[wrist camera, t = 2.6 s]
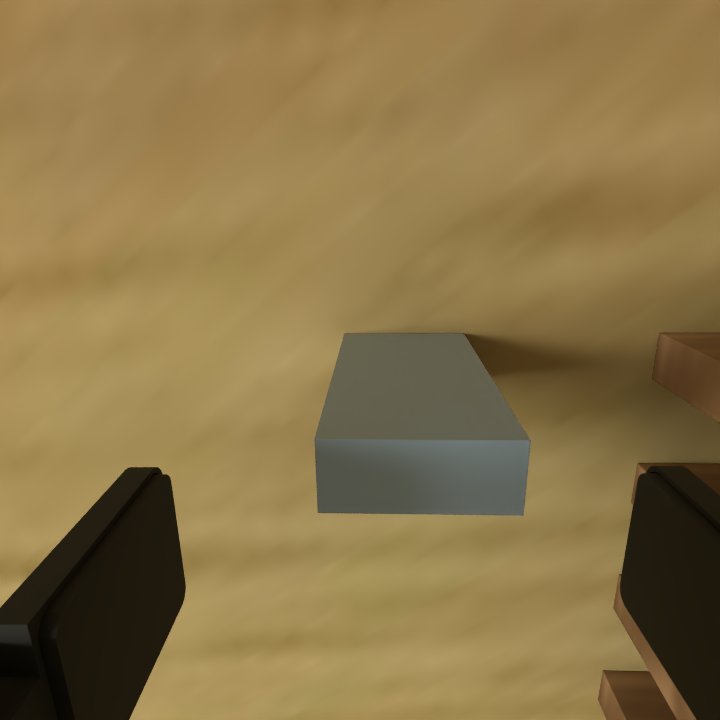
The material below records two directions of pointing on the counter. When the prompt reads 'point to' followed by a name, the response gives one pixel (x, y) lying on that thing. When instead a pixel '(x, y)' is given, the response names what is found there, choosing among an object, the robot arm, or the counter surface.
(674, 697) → the domino
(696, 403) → the domino
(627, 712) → the domino
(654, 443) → the counter surface
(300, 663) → the counter surface
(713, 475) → the domino
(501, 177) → the counter surface
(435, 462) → the domino
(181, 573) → the robot arm
